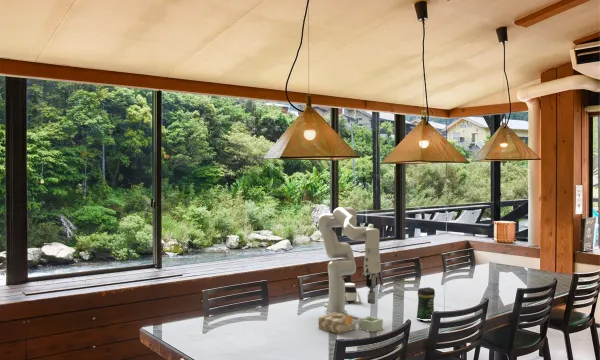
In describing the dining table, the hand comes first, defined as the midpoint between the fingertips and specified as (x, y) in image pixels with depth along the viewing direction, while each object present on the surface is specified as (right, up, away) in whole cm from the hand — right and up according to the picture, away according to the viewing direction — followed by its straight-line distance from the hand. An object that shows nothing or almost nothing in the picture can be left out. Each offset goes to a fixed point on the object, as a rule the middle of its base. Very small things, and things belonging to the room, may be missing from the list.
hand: (371, 285), depth 259 cm
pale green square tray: (0, -23, 0) cm, 23 cm away
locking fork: (-13, -16, -10) cm, 24 cm away
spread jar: (-4, -24, +59) cm, 64 cm away
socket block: (-19, -23, -1) cm, 29 cm away
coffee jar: (+34, -24, +18) cm, 45 cm away
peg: (0, -9, 0) cm, 9 cm away
